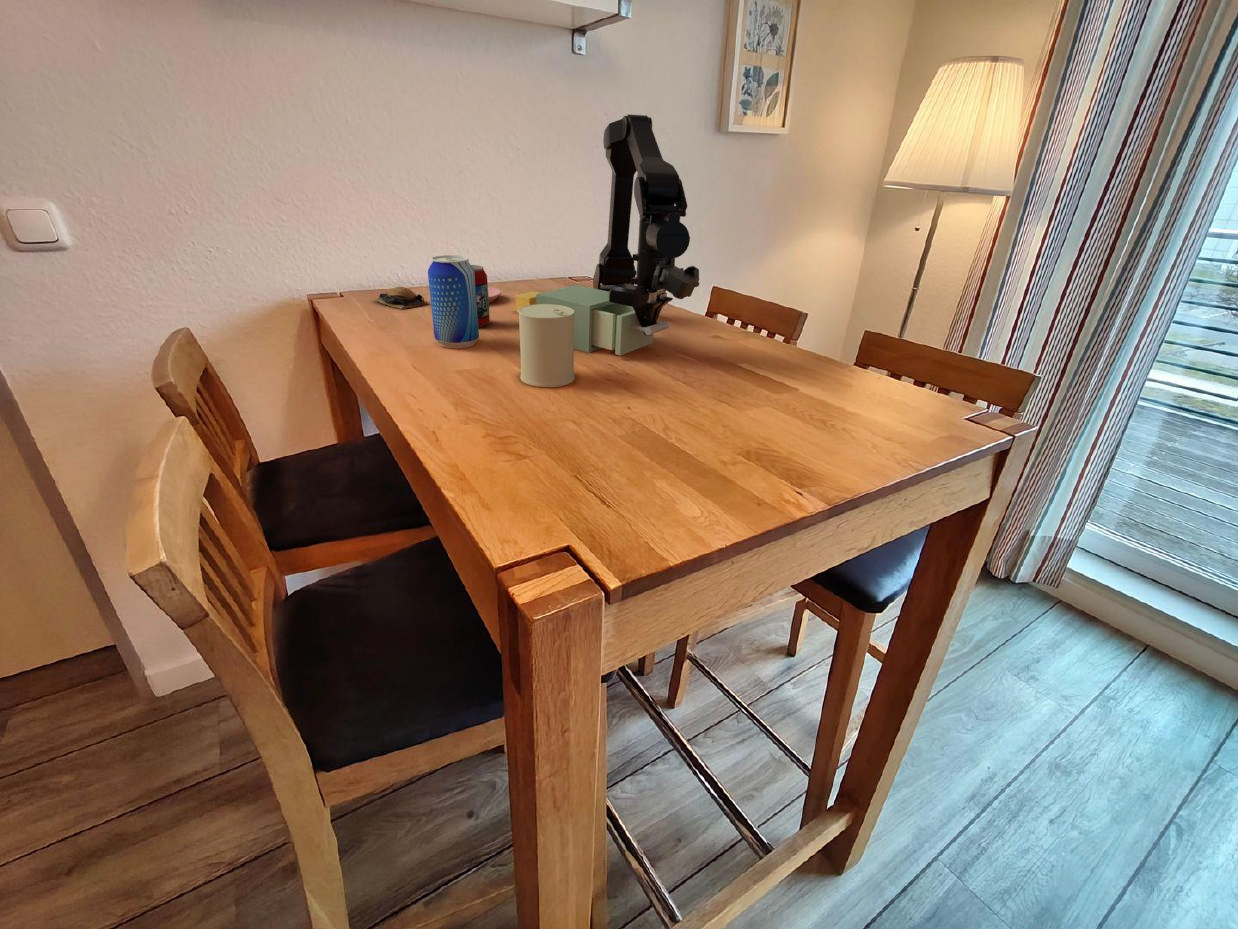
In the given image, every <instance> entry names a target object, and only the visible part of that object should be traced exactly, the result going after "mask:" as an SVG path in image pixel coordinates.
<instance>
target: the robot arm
mask: <svg viewBox="0 0 1238 929" xmlns="http://www.w3.org/2000/svg"><path fill="white" fill-rule="evenodd" d="M603 149H604V150H605V158H606V160H607V162H608V165H609V167H610V169H611V185H610V200H609V216H608V218H609V219H608V230H607V242H606V244H605V246H604V248H603V249H602V250H601V251H600V253H599V258H598V263H597V264H596V266H595V269H594V270H595V271H594V274H593V277H592V286H593V287H592V288H594V289H599V290H603V291H608V292H609V302H612V303H617V304H622V305H626V306H631V307H633V309H634V311H635V313H636V315H637V318H638V320H639V323H640V325H641V327H644V328H646V327H649V326H652V325H655V324H656V322H657V321H658V319H659V317H660V314H661V311H662V310H663V308H664V306H666V305H667V304H668V303H670V302H672V301H673V300H674V298H675V299H678V300H684V298H690V297H691V296H692V295H693V292H694V290H695V288H697V287H699V286H700V268H697V267H696V266H694V265H691V266H690V265H689V266H688V267H686V268H684V267H678V266H676V259H678V258H679V257H681V256H683V255H684V254H685V252H686V251H687V250H688V248H689V246H690V241H691V237H690V232H689V230H688V228H687V226H686V225H685V224H683V223H682V222H681V218H682V217H684V218H685V217H686V216H687V210H688V209H687V208H688V202H687V197H686V194H685V189H684V186H683V181H682V179H681V178H680V175H679V173H678V171H677V169H676V168H675V167H674V165H673V164H671V163H669V162H667V161H665V160H664V158H663V156H662V152H661V150H660V147H659V144H658V141H657V139H656V136H655V133H654V130H653V119H652V117H650V116H648V115H643V114H630V113H629V114H626V115H623V117H622V118H621V119H618V120H615V121H612V122H609V123H608V125H607V126H606V127H605V128H604V130H603ZM636 173H637V174H636ZM635 175H637V176H636V177H635ZM634 179H635V180H634ZM633 196H634V200H635V204H636V208H637V212H638V215H639V217H638V218H639V221H638V238H637V239H638V240H637V253H633V254H631V251H630V249H629V238H630V228H631V226H630V225H631V214H632V205H633V204H632V203H633ZM635 262H636V267H635ZM668 293H669V294H671V295H672V297H670V296H668ZM643 333H644V335H646V334H645V332H644V331H643ZM646 336H650V335H646Z"/></svg>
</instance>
